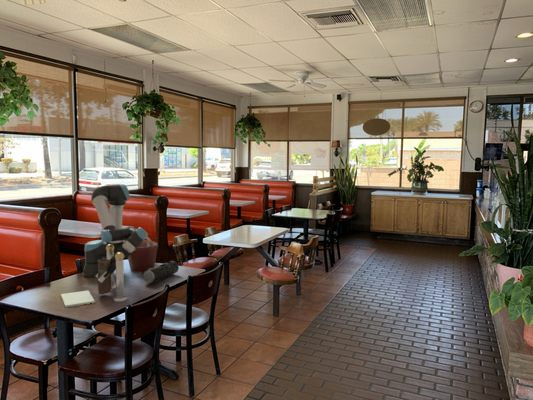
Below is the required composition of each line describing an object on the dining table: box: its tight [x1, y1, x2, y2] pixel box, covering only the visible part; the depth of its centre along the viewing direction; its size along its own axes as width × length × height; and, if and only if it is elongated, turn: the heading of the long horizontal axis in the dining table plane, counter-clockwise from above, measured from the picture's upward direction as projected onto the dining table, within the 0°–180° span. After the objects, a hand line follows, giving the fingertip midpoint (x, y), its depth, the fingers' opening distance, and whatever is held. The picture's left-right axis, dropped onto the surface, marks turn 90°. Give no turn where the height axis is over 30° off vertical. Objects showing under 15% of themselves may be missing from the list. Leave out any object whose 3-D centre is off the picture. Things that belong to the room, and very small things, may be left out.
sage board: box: [60, 290, 96, 308], centre depth 242 cm, size 15×22×1 cm
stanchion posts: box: [106, 244, 128, 303], centre depth 252 cm, size 7×33×28 cm, turn 32°
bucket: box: [127, 236, 159, 273], centre depth 309 cm, size 24×22×25 cm
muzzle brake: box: [142, 260, 179, 284], centre depth 284 cm, size 10×28×10 cm, turn 158°
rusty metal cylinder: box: [97, 258, 112, 295], centre depth 249 cm, size 8×7×20 cm
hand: (98, 279), depth 247 cm, fingers closed on rusty metal cylinder, 7 cm apart
